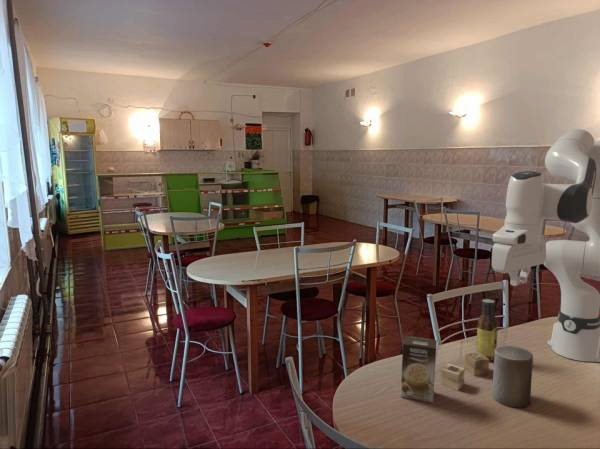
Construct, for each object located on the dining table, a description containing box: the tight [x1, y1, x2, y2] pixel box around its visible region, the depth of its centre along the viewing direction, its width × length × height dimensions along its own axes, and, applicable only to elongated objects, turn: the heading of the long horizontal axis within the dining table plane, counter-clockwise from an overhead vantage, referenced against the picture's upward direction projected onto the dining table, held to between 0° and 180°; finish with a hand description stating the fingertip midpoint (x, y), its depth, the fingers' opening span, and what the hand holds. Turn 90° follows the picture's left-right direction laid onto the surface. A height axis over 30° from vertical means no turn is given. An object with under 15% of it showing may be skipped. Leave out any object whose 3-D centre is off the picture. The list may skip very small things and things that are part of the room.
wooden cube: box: [464, 352, 490, 377], centre depth 138 cm, size 5×5×5 cm
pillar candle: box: [492, 344, 534, 409], centre depth 121 cm, size 10×10×15 cm
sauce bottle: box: [475, 298, 499, 362], centre depth 146 cm, size 6×6×20 cm
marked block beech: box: [440, 363, 466, 391], centre depth 130 cm, size 5×5×5 cm
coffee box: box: [399, 334, 437, 403], centre depth 124 cm, size 9×6×16 cm
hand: (518, 284), depth 117 cm, fingers open, 2 cm apart
